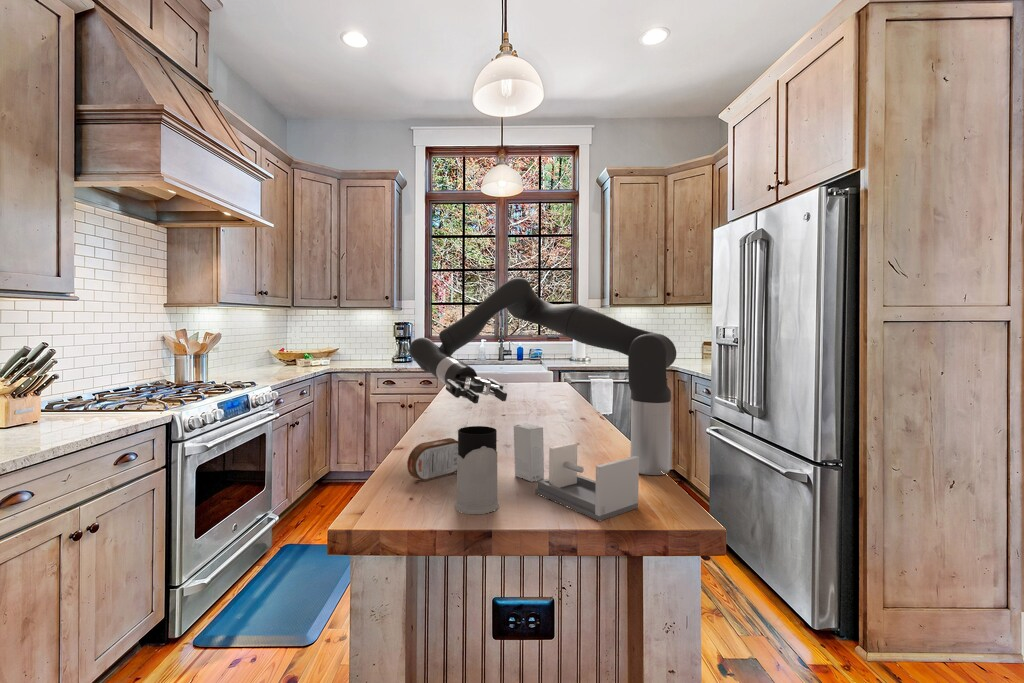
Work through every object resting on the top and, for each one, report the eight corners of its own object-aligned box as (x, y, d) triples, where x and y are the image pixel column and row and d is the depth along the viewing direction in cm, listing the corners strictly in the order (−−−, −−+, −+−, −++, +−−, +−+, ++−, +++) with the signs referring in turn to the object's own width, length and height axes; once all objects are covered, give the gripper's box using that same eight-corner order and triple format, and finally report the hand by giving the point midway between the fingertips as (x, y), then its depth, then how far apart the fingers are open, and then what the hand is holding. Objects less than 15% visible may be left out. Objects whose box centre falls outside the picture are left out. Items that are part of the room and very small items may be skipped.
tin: (459, 468, 122) (459, 434, 121) (467, 471, 119) (467, 436, 119) (406, 482, 111) (406, 445, 111) (414, 486, 109) (414, 447, 108)
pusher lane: (573, 483, 111) (573, 439, 111) (638, 507, 97) (638, 457, 96) (535, 493, 104) (535, 446, 104) (599, 521, 90) (599, 467, 90)
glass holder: (461, 517, 91) (461, 437, 91) (442, 492, 105) (442, 421, 104) (506, 511, 95) (506, 433, 94) (482, 487, 108) (482, 419, 107)
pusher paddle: (572, 481, 108) (573, 442, 108) (593, 489, 103) (593, 448, 103) (548, 488, 104) (549, 447, 104) (568, 496, 99) (569, 453, 99)
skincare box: (544, 479, 114) (545, 426, 113) (530, 483, 111) (530, 429, 111) (527, 472, 119) (527, 422, 118) (512, 476, 116) (513, 424, 115)
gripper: (435, 361, 126) (470, 385, 114) (480, 361, 135) (517, 383, 123) (430, 389, 128) (464, 415, 116) (475, 386, 137) (511, 410, 125)
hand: (491, 398), depth 120 cm, fingers open, 8 cm apart
